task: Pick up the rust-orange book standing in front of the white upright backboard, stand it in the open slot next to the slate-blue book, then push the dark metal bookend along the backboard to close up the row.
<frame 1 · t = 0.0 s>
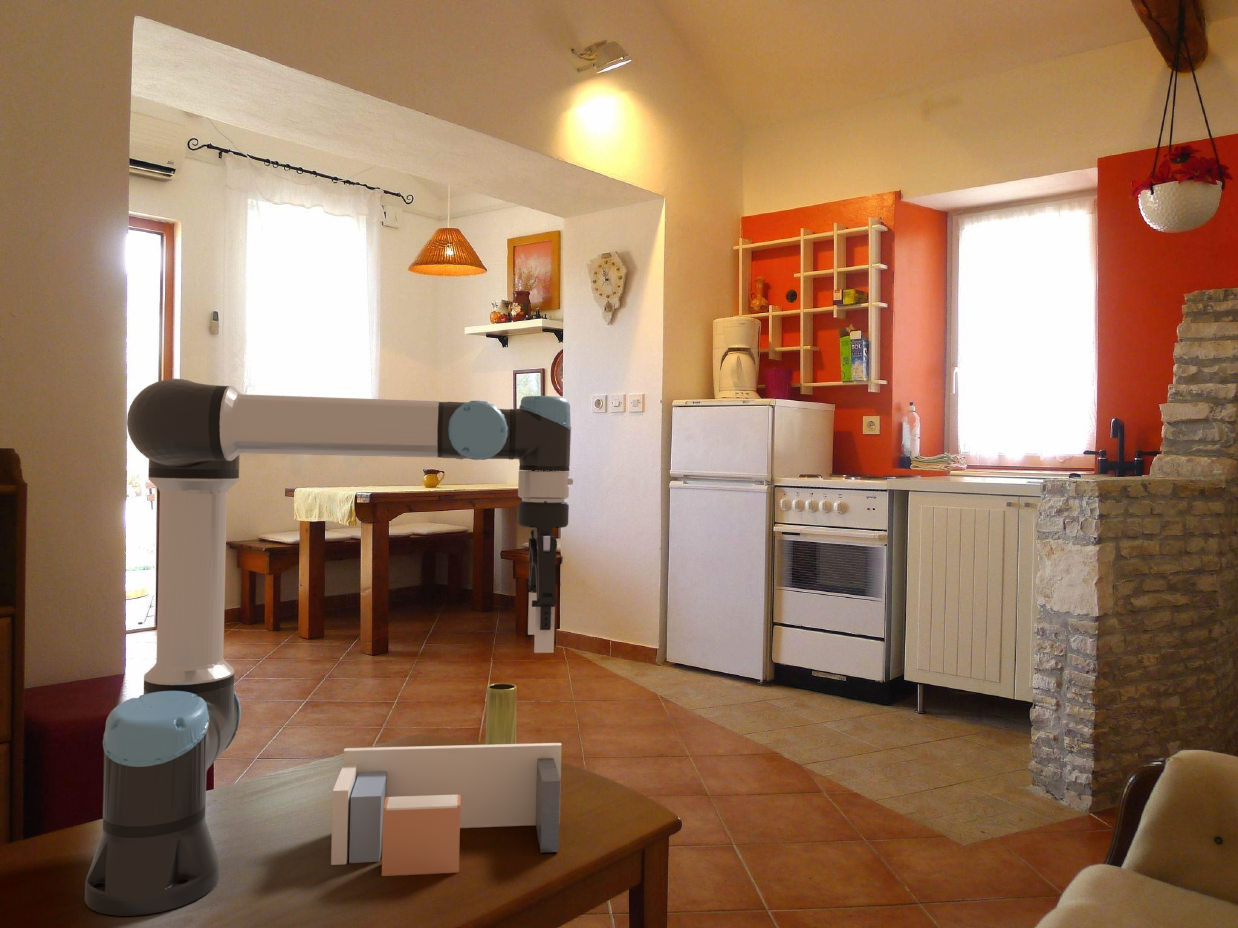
hand: (540, 642, 138), 28 cm above the table, fingers open, 13 cm apart
bookend: (547, 803, 135), point 5 cm above the table, slide at 0.0 cm
vase: (500, 766, 167), on the table
rust book: (421, 867, 125), on the table
blue book: (368, 847, 131), on the table
white upright backboard: (452, 826, 139), on the table
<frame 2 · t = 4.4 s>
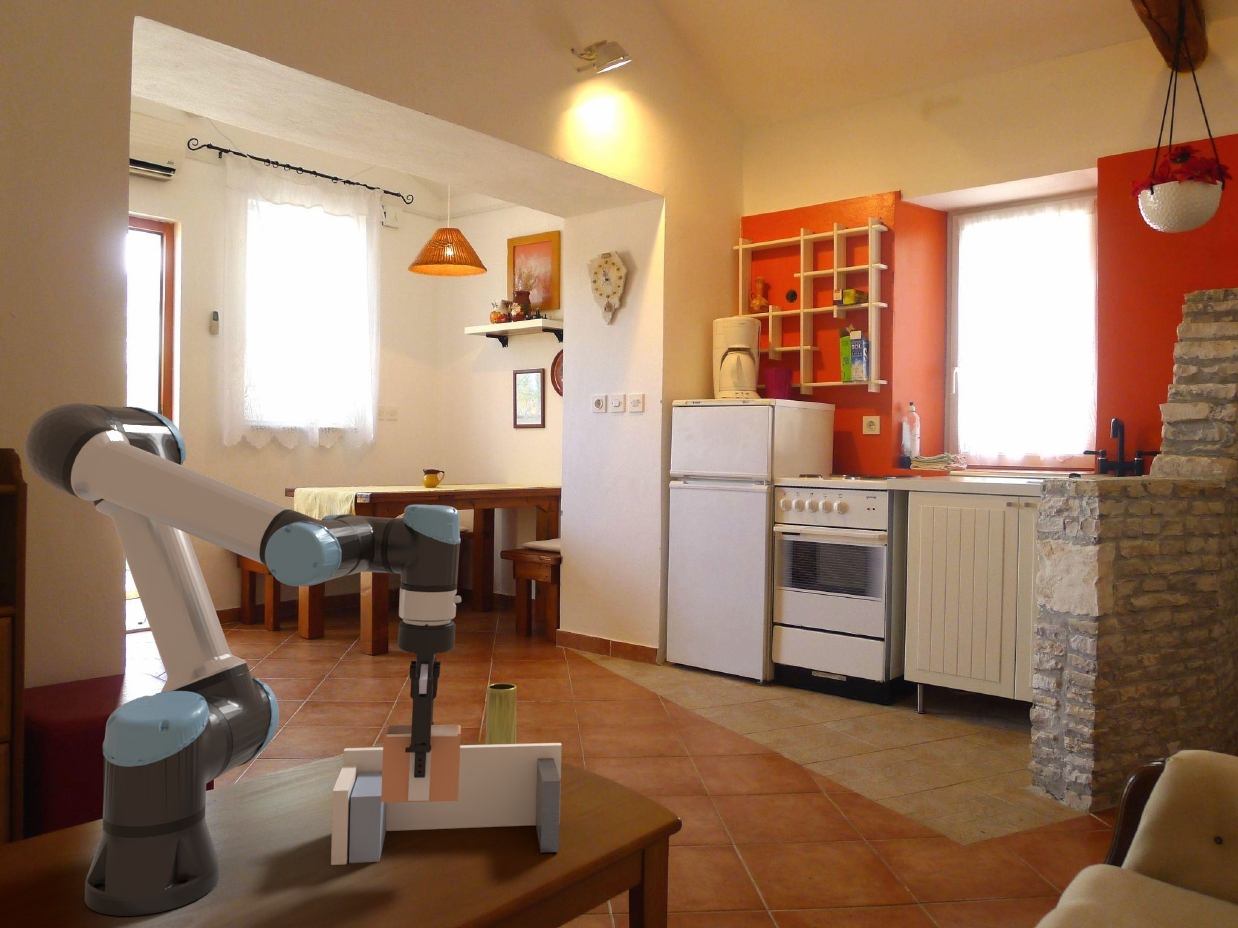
hand: (419, 792, 125), 10 cm above the table, fingers closed on rust book, 4 cm apart
rust book: (420, 795, 125), point 10 cm above the table, touching gripper
everything else where it was.
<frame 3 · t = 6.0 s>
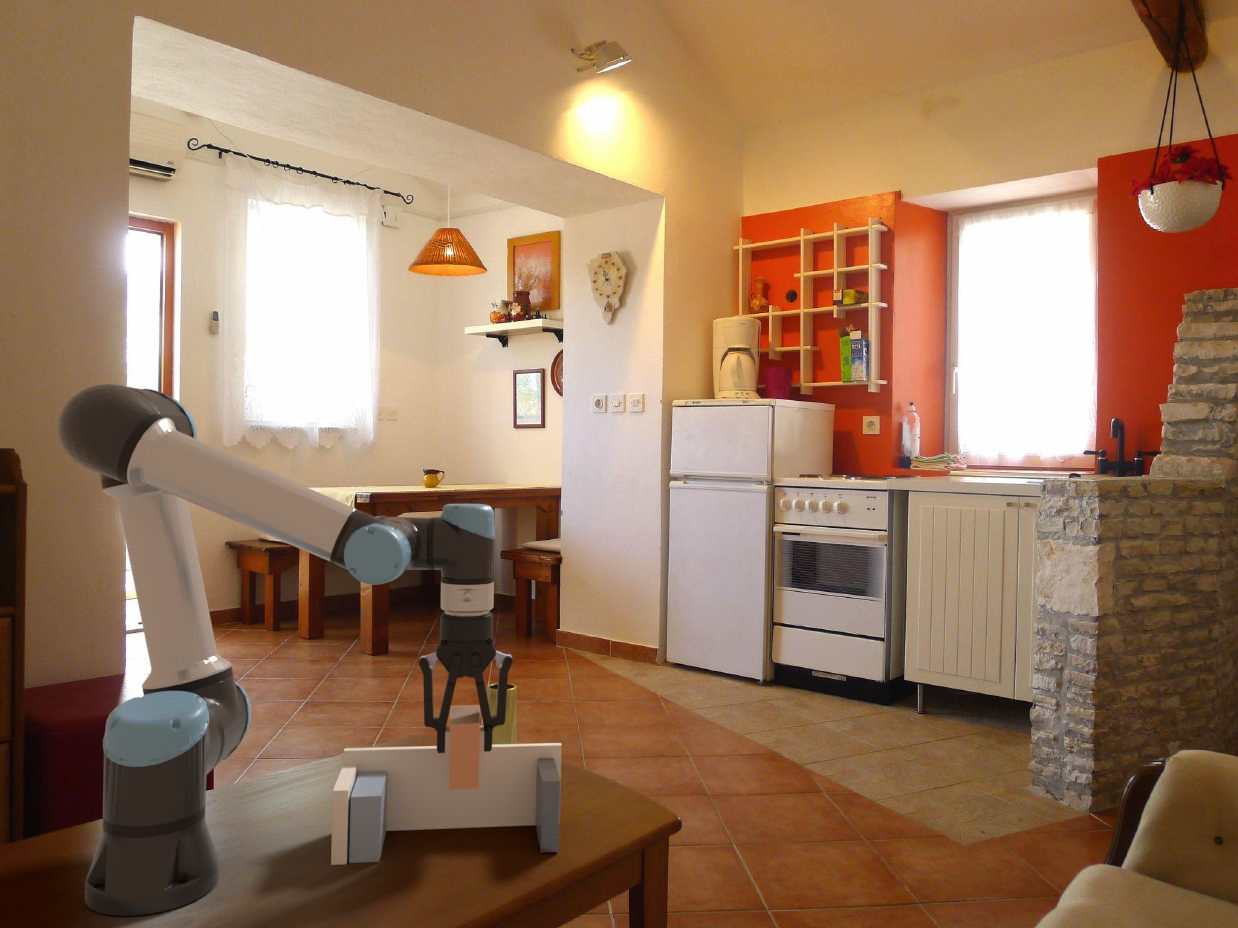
hand: (463, 773, 133), 10 cm above the table, fingers closed on rust book, 4 cm apart
rust book: (463, 777, 133), point 9 cm above the table, touching gripper
everything else where it was.
when the fingers open (1 cm above the table, at t = 7.7 s): rust book stays where it is, on the table.
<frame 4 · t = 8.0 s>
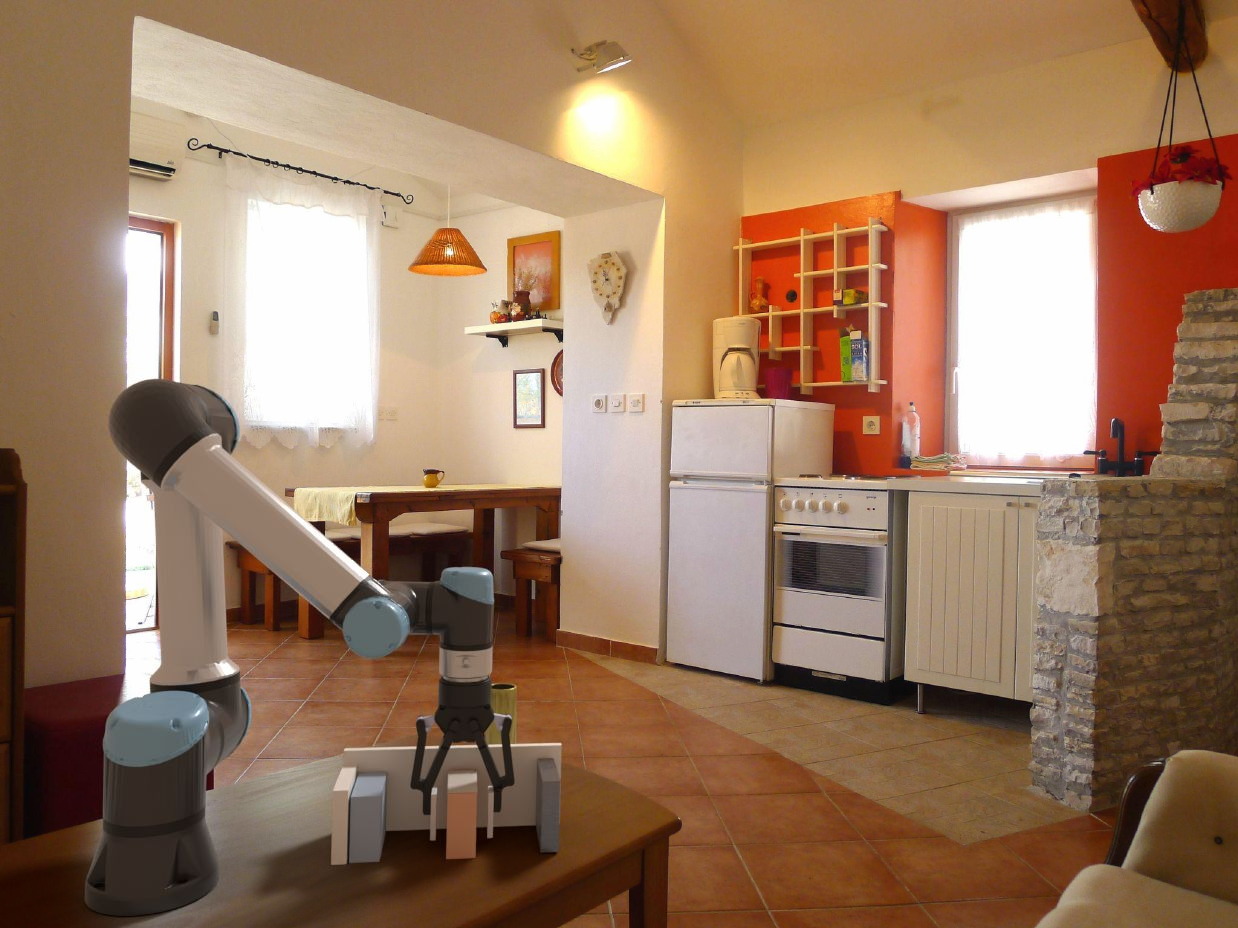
hand: (461, 834, 133), 1 cm above the table, fingers open, 7 cm apart
rust book: (461, 843, 133), on the table
everything else where it was.
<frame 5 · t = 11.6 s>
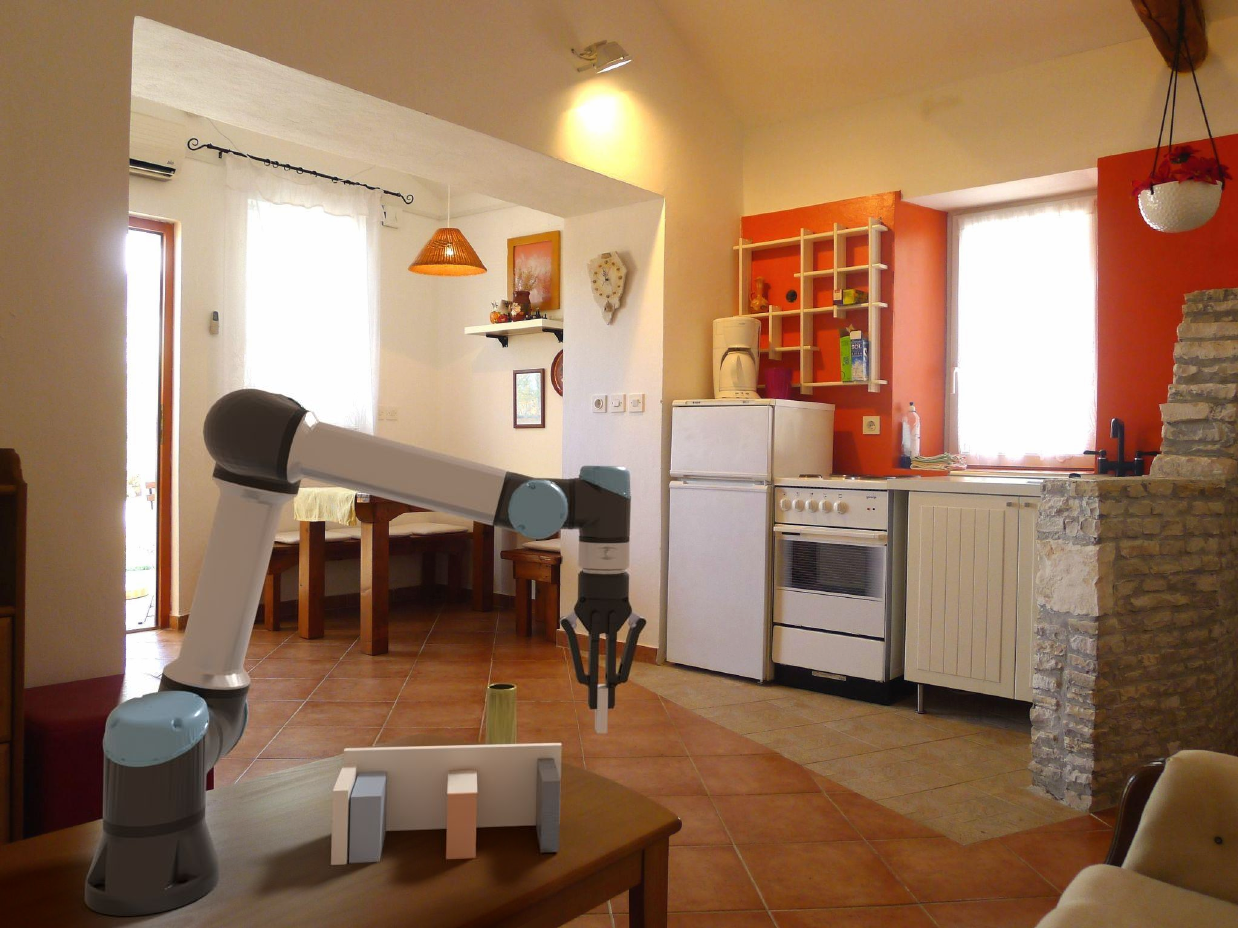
hand: (600, 730, 136), 16 cm above the table, fingers closed
nothing on the table moved.
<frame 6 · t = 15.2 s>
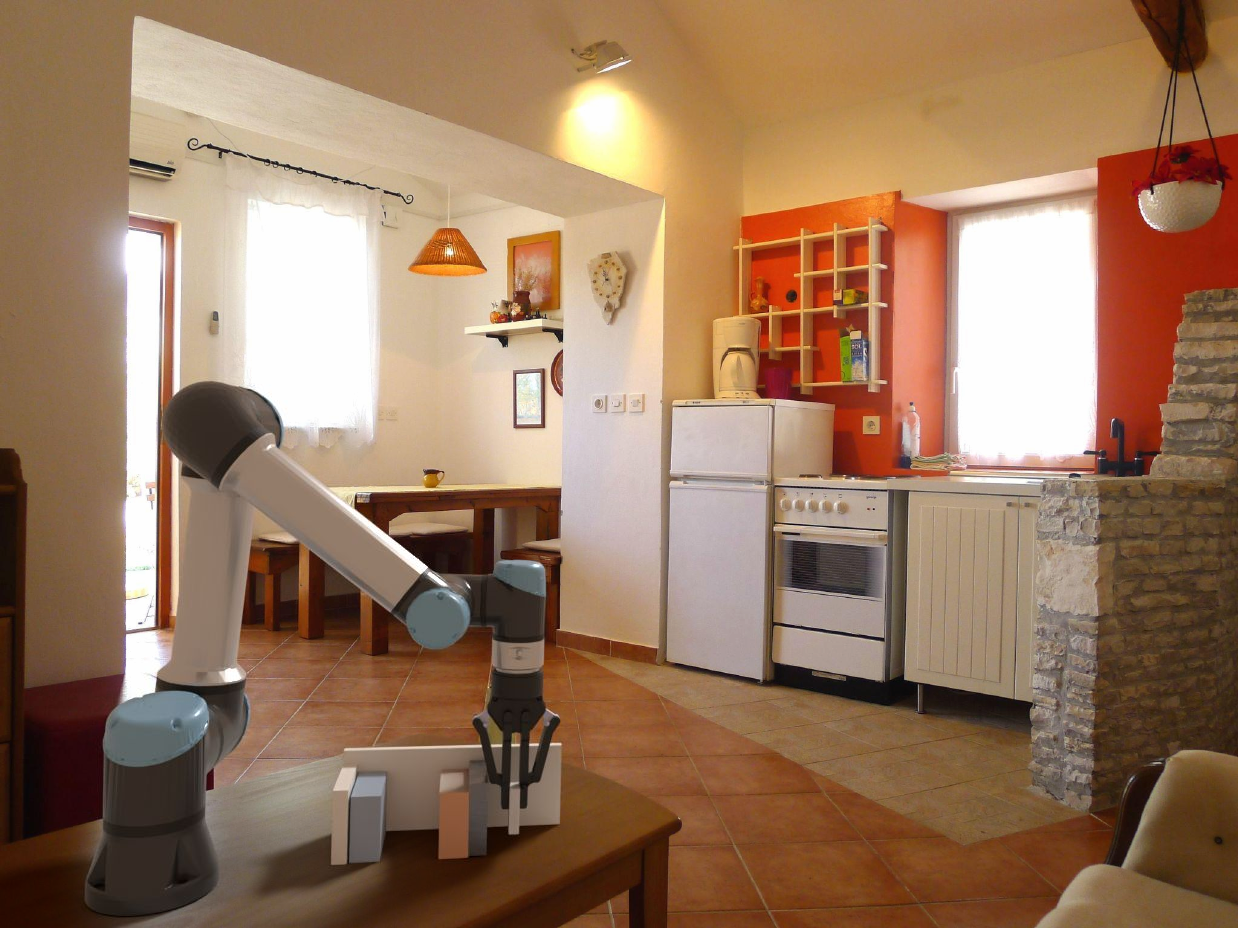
hand: (513, 830, 135), 1 cm above the table, fingers closed
bookend: (477, 805, 134), point 5 cm above the table, slide at 10.1 cm, touching hand, rust book
rust book: (453, 843, 133), on the table, touching bookend
everything else where it was.
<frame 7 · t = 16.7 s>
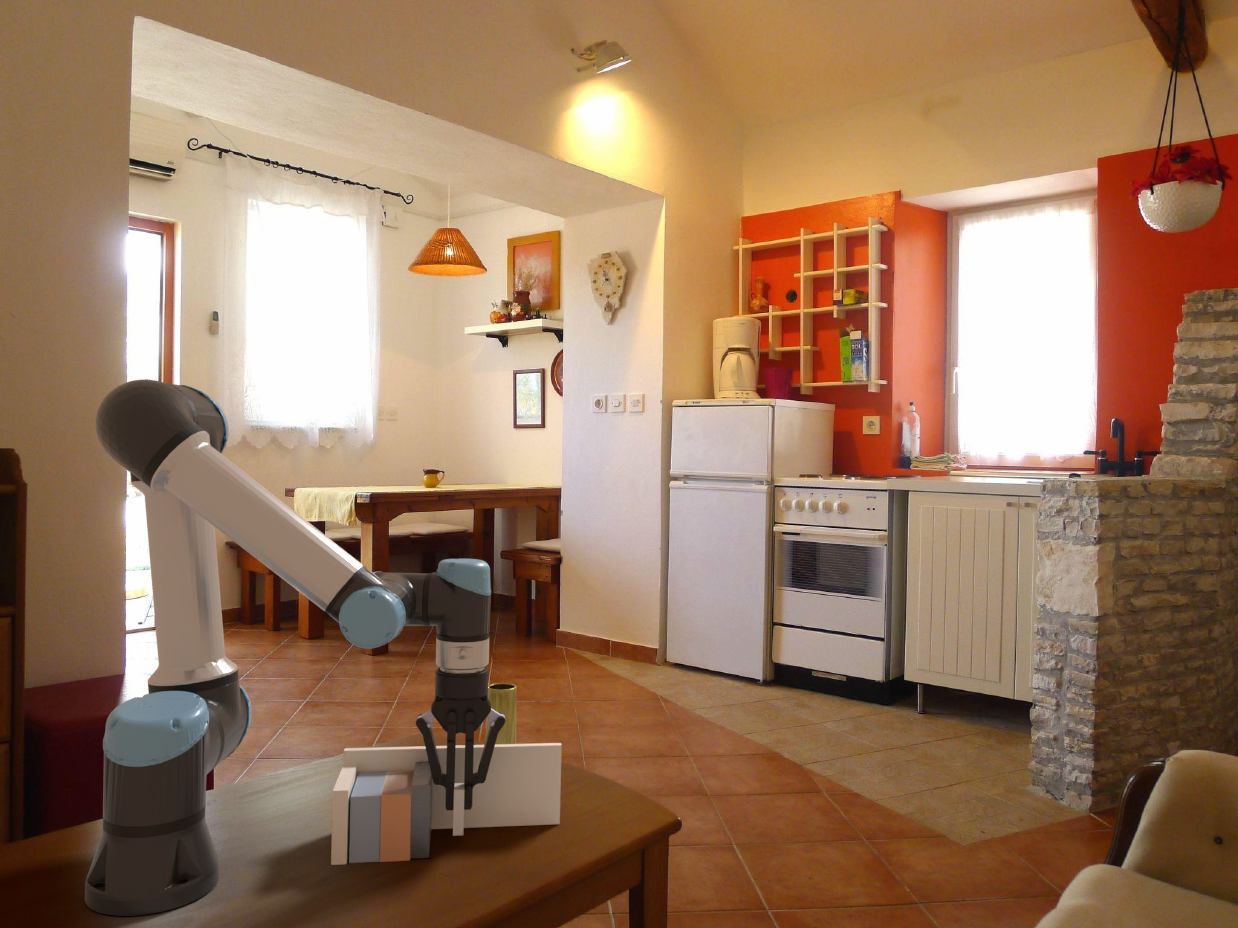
hand: (458, 831, 133), 2 cm above the table, fingers closed
bookend: (421, 807, 132), point 5 cm above the table, slide at 17.9 cm, touching hand, rust book
rust book: (397, 845, 132), on the table, touching blue book, bookend
blue book: (368, 846, 131), on the table, touching rust book
everything else where it was.
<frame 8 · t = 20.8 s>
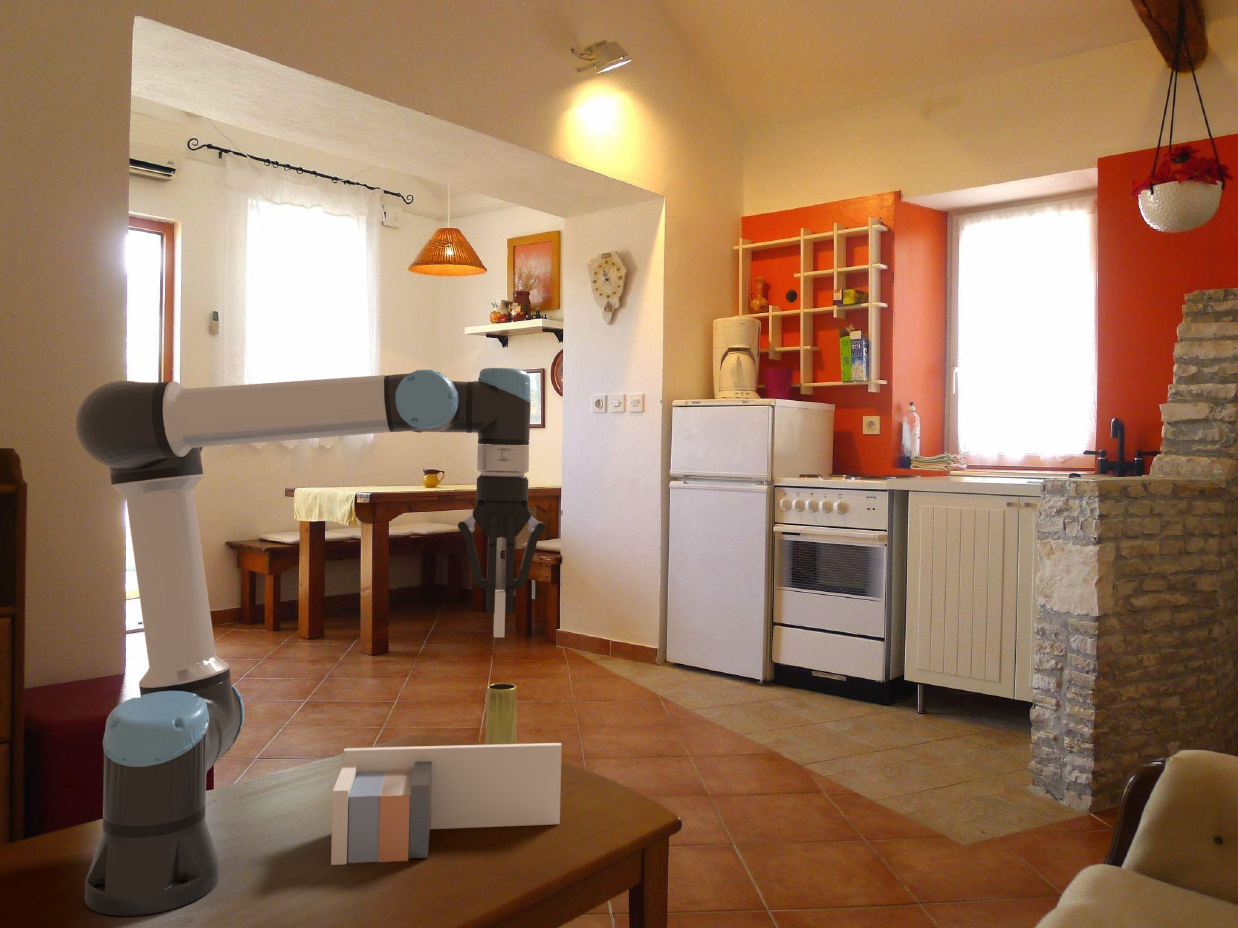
hand: (498, 635, 136), 29 cm above the table, fingers closed
bookend: (420, 807, 132), point 5 cm above the table, slide at 18.1 cm
rust book: (395, 846, 132), on the table, touching blue book
everything else where it was.
at the end: rust book inside the target area (1.7 cm from its centre), on the table; rust book tilted 0°; bookend slide at 18.1 cm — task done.
